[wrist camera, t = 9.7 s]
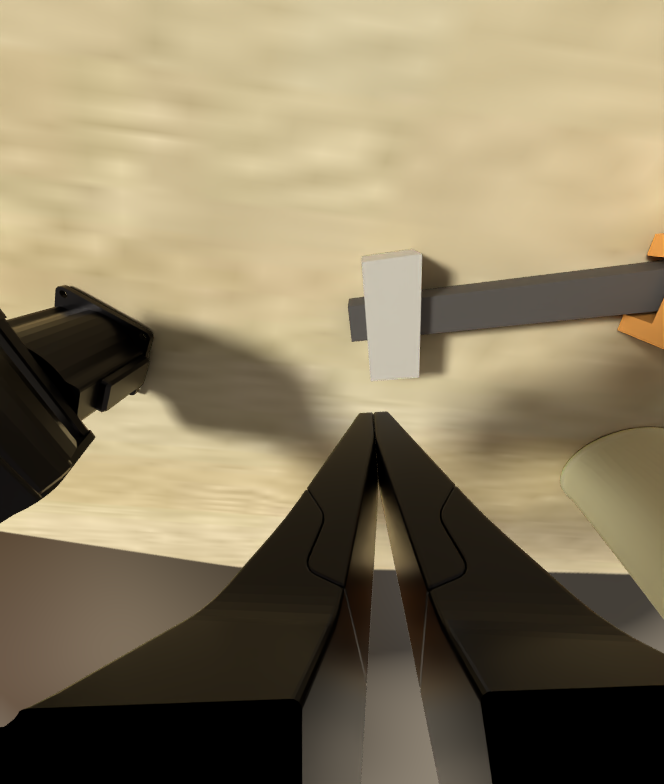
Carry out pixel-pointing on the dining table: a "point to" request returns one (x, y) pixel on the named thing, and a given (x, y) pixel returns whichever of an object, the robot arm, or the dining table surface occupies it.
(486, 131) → the dining table surface
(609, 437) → the can
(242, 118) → the dining table surface
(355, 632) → the robot arm
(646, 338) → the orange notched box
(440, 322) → the toy mallet
